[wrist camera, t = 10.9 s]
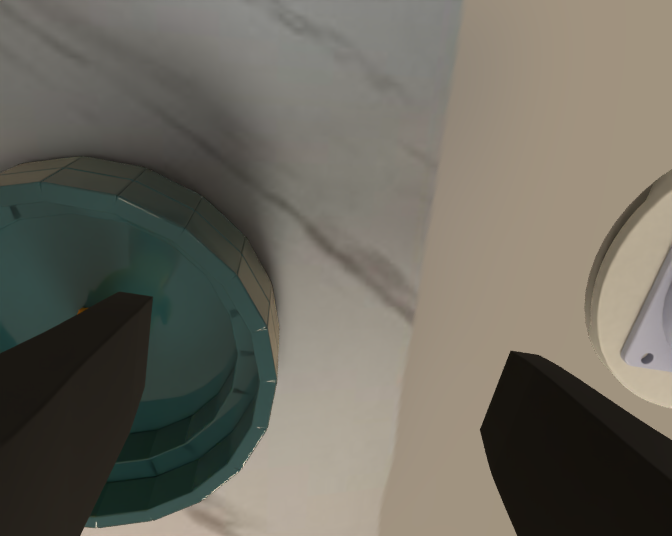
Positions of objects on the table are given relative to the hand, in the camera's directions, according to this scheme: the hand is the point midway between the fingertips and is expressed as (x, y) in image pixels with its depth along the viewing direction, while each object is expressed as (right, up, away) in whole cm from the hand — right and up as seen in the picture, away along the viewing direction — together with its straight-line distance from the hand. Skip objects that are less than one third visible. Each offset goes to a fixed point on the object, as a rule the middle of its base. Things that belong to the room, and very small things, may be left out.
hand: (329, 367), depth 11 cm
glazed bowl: (-9, 0, +11) cm, 14 cm away
